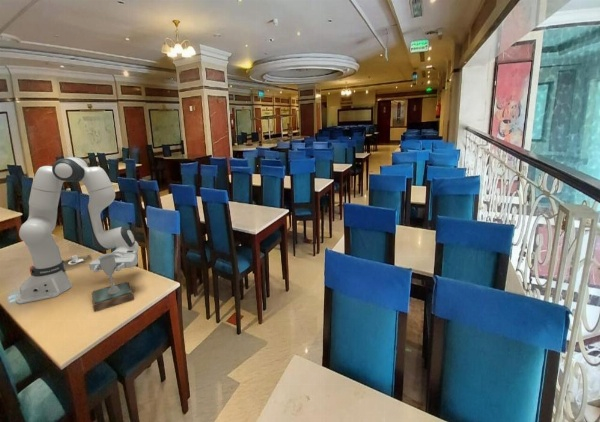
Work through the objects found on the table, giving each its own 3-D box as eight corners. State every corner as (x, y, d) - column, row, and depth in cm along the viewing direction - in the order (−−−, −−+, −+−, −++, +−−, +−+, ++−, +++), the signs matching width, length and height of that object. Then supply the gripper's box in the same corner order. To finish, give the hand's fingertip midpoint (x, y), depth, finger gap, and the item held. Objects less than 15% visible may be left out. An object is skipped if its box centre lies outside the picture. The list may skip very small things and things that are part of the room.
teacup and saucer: (83, 263, 195) (82, 257, 194) (68, 266, 190) (66, 260, 189) (83, 258, 202) (82, 252, 201) (68, 261, 198) (66, 255, 196)
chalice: (114, 295, 147) (107, 259, 142) (101, 294, 148) (94, 259, 143) (125, 287, 154) (118, 253, 149) (113, 287, 155) (106, 252, 150)
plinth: (94, 311, 142) (93, 303, 141) (92, 298, 153) (91, 291, 152) (134, 299, 151) (132, 292, 150) (129, 287, 162) (128, 280, 161)
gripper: (96, 253, 158) (80, 265, 145) (139, 250, 160) (127, 262, 147) (99, 265, 160) (83, 278, 147) (141, 262, 162) (130, 274, 149)
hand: (106, 270), depth 147 cm, fingers open, 8 cm apart
